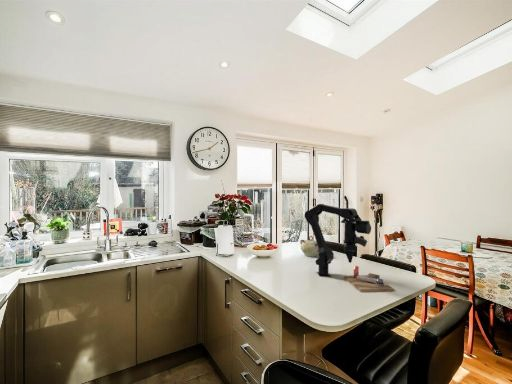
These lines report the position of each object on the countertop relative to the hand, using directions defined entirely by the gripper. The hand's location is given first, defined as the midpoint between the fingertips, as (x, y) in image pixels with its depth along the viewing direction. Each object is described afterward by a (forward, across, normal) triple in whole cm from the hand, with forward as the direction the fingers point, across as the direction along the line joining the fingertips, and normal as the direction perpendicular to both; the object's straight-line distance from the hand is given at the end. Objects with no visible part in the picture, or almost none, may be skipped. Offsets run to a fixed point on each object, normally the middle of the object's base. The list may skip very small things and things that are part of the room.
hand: (349, 260), depth 137 cm
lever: (+10, -1, -9) cm, 13 cm away
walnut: (+9, +2, -11) cm, 14 cm away
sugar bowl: (+13, +50, +26) cm, 58 cm away
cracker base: (+12, 0, -9) cm, 15 cm away
